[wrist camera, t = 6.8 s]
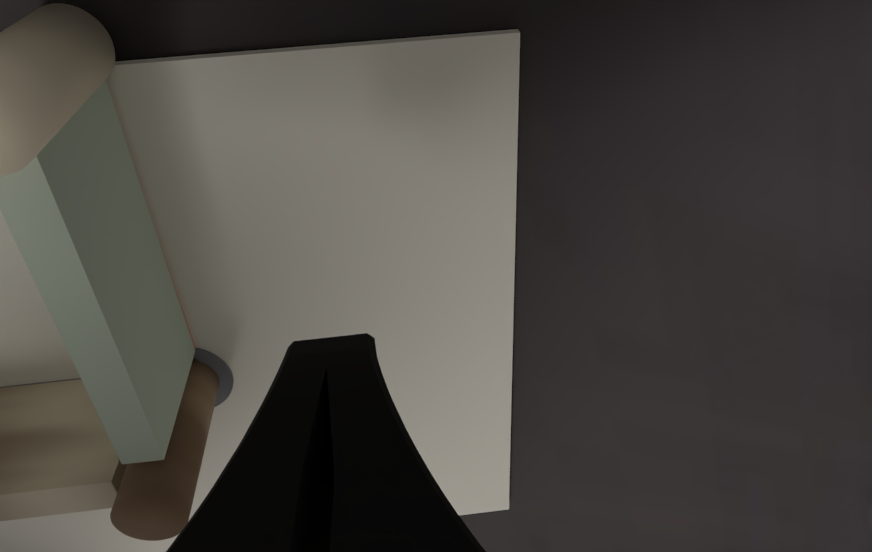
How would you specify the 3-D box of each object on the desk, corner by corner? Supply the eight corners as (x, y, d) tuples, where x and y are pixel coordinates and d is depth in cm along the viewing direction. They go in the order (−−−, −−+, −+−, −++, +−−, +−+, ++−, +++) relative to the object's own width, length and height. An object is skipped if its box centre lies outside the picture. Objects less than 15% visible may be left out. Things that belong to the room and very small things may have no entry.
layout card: (-21, 567, 25) (-26, 577, 24) (-393, 102, 14) (-410, 109, 14) (507, 502, 26) (509, 511, 26) (517, 29, 15) (521, 33, 15)
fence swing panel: (209, 349, 19) (177, 471, 16) (146, 355, 19) (99, 479, 16) (99, 0, 14) (12, 66, 10) (10, 6, 14) (-111, 74, 10)
